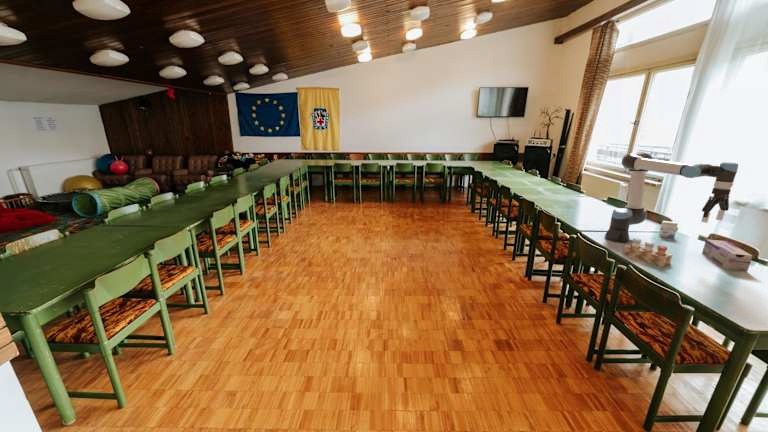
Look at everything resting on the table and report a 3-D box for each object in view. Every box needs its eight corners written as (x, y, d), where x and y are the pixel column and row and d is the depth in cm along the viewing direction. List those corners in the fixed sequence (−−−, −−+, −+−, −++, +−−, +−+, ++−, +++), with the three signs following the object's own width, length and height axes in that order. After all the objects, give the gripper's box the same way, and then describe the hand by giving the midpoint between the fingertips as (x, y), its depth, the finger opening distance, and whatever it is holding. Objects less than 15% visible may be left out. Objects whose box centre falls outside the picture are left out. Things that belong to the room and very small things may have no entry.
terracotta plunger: (653, 257, 200) (656, 246, 198) (657, 255, 202) (660, 244, 200) (662, 259, 196) (665, 248, 194) (666, 258, 198) (669, 247, 196)
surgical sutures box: (701, 253, 212) (706, 239, 209) (722, 256, 208) (727, 241, 205) (723, 269, 190) (728, 253, 187) (746, 272, 186) (752, 255, 183)
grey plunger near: (629, 249, 212) (631, 239, 210) (632, 248, 214) (635, 238, 212) (636, 251, 208) (639, 241, 206) (640, 250, 210) (643, 240, 208)
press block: (622, 254, 213) (624, 246, 211) (630, 251, 217) (632, 243, 216) (662, 266, 194) (664, 257, 193) (670, 263, 199) (672, 254, 197)
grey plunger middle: (641, 253, 206) (643, 242, 204) (644, 251, 208) (647, 241, 206) (649, 255, 202) (651, 244, 200) (652, 254, 204) (655, 243, 202)
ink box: (672, 236, 244) (676, 221, 241) (674, 238, 240) (678, 223, 237) (658, 234, 249) (662, 220, 246) (659, 236, 245) (663, 221, 242)
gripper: (715, 190, 184) (705, 224, 190) (743, 187, 191) (732, 220, 197) (700, 188, 191) (690, 221, 197) (727, 185, 197) (717, 217, 204)
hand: (711, 221), depth 197 cm, fingers open, 13 cm apart
